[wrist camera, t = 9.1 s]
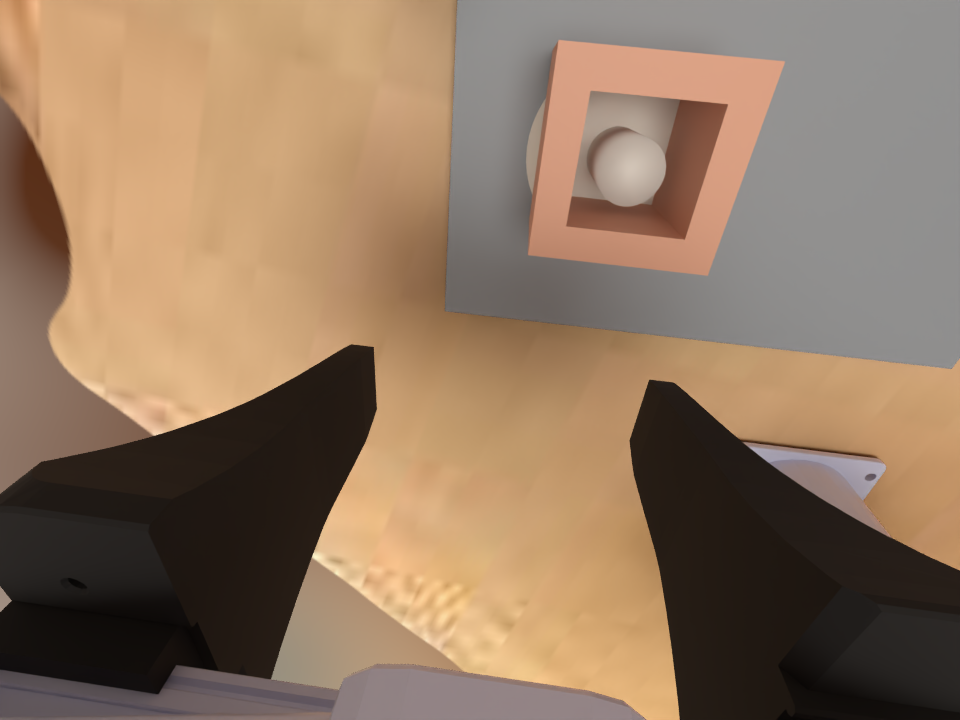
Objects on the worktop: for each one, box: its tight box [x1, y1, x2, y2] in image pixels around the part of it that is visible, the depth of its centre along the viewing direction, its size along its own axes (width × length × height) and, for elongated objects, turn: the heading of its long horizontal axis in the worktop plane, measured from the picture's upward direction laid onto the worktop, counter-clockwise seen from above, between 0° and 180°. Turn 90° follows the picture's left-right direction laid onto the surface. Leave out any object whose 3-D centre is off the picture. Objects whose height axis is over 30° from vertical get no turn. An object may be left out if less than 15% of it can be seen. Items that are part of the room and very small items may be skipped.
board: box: [445, 0, 960, 369], centre depth 16 cm, size 14×22×5 cm, turn 86°
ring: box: [528, 40, 785, 276], centre depth 15 cm, size 6×6×4 cm
